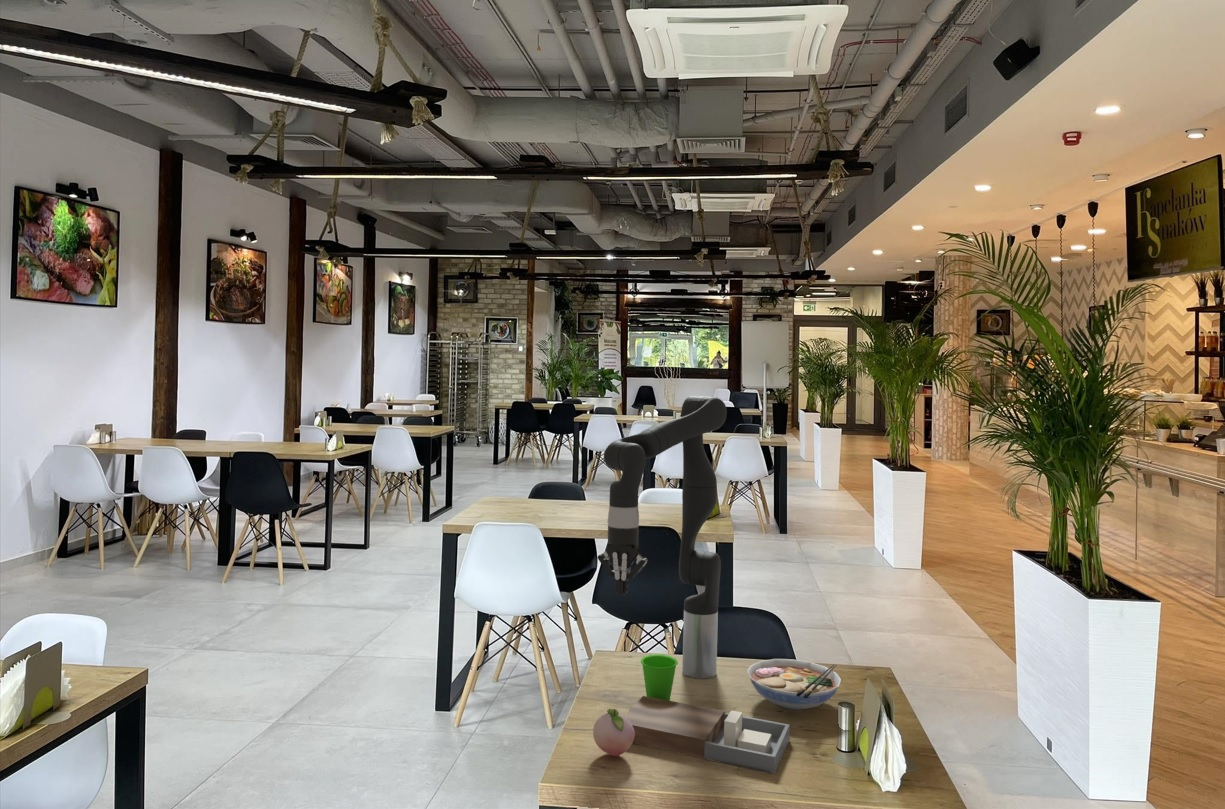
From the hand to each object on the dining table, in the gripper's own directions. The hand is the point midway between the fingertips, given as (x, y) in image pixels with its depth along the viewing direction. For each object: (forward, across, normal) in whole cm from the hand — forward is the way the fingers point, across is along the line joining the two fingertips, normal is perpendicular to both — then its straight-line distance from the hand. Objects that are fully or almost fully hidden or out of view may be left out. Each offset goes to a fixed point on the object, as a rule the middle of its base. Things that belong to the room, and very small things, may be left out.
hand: (621, 594), depth 195 cm
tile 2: (+24, -36, +11) cm, 44 cm away
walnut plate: (+27, -17, +10) cm, 34 cm away
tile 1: (+24, -30, +10) cm, 39 cm away
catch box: (+27, -34, +10) cm, 45 cm away
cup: (+27, -9, -3) cm, 29 cm away
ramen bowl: (+27, -39, -18) cm, 51 cm away
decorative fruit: (+27, -9, +26) cm, 39 cm away
